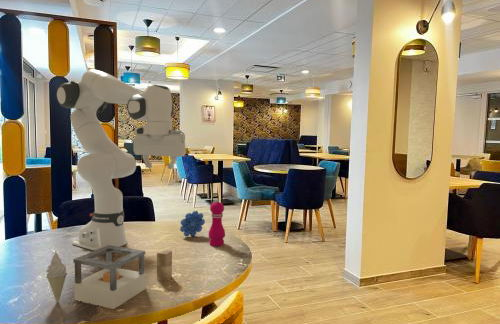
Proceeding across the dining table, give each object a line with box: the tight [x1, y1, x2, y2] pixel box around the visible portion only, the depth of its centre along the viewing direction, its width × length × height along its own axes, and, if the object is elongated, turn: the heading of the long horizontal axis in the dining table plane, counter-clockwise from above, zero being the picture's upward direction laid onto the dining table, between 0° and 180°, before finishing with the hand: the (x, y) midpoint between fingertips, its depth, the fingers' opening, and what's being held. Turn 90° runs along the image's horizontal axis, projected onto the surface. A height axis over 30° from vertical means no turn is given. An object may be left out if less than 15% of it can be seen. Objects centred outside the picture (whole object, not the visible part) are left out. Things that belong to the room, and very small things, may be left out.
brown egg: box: [103, 271, 119, 282], centre depth 108 cm, size 4×4×5 cm
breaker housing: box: [73, 267, 146, 310], centre depth 108 cm, size 14×14×5 cm
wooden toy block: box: [156, 249, 173, 282], centre depth 120 cm, size 4×4×9 cm
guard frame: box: [72, 245, 146, 291], centre depth 107 cm, size 14×14×7 cm
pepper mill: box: [208, 198, 226, 247], centre depth 157 cm, size 7×7×20 cm
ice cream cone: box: [45, 250, 68, 303], centre depth 102 cm, size 5×5×15 cm
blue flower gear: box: [179, 210, 206, 237], centre depth 169 cm, size 12×7×12 cm, turn 112°
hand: (159, 168), depth 132 cm, fingers open, 8 cm apart
